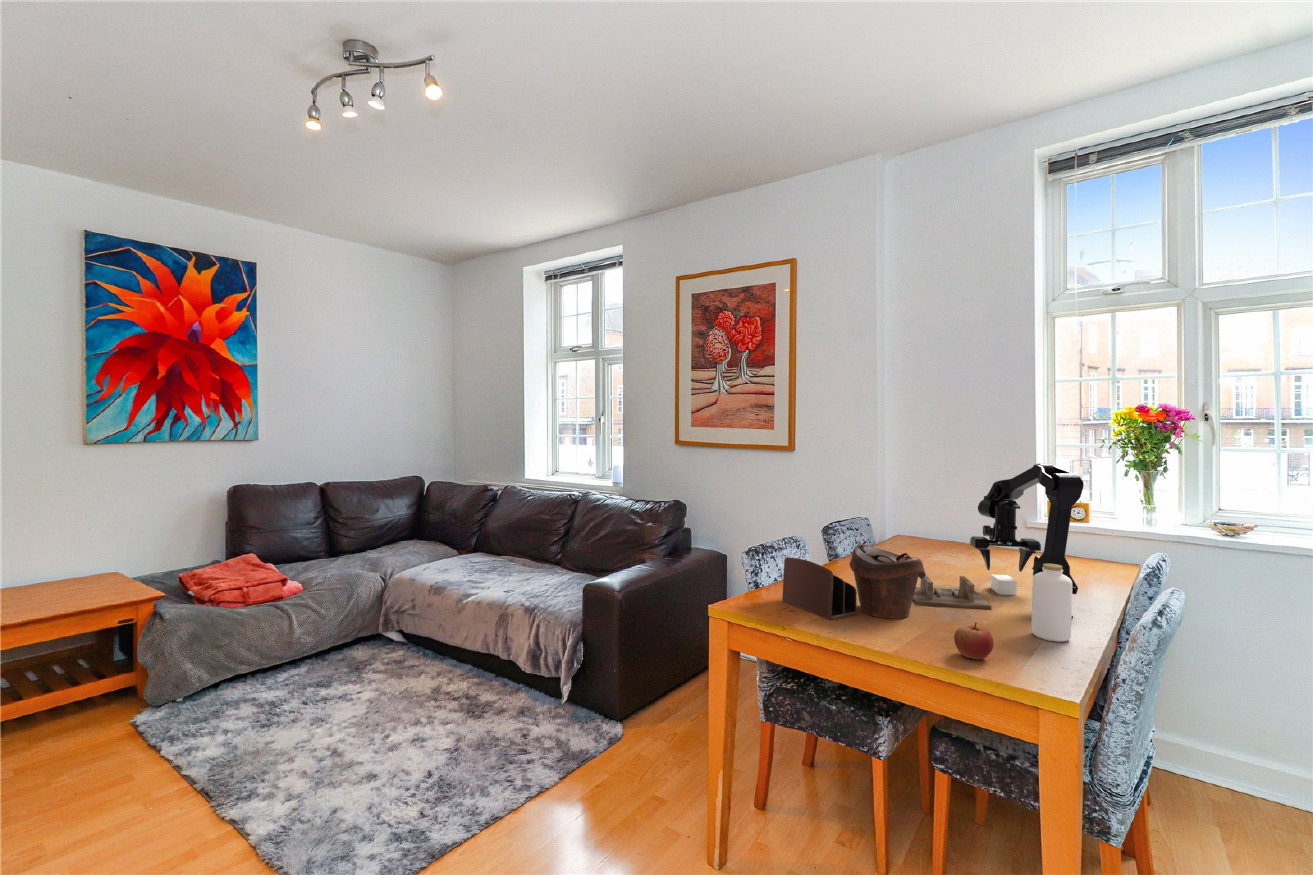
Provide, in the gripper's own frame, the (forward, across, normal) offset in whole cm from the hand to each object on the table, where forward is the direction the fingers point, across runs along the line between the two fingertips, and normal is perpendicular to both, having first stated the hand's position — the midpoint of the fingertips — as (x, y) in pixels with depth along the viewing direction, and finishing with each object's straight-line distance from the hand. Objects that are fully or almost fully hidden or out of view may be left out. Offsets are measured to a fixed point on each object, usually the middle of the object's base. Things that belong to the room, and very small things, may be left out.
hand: (1004, 570), depth 192 cm
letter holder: (+7, +58, +30) cm, 66 cm away
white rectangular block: (+7, 0, 0) cm, 7 cm away
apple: (+7, +26, +60) cm, 66 cm away
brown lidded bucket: (+7, +40, +30) cm, 50 cm away
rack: (+7, +20, +13) cm, 25 cm away
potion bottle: (+7, +3, +42) cm, 43 cm away
